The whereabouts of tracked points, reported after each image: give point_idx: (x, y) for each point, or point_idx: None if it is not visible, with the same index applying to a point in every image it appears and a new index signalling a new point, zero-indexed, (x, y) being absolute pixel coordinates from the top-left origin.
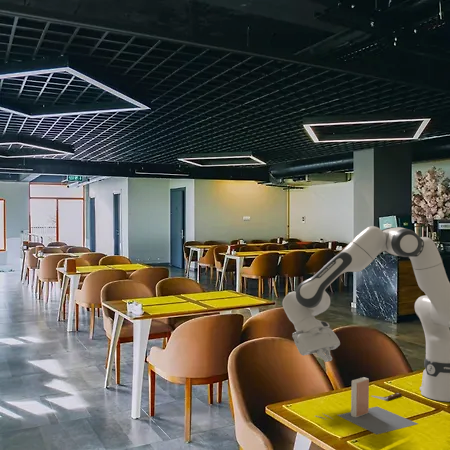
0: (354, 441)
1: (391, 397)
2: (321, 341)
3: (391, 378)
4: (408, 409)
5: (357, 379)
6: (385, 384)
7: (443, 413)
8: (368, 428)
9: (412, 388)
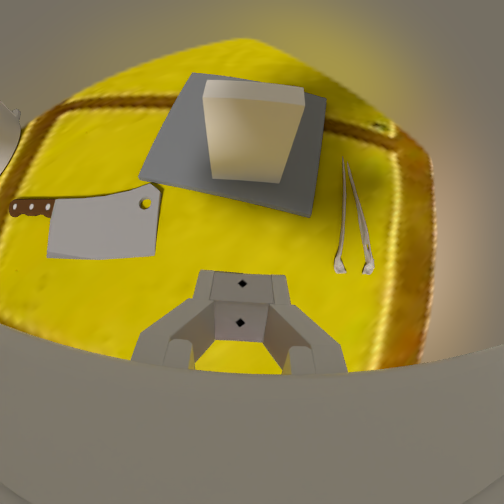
0: (381, 125)
1: (43, 199)
2: (227, 489)
3: None
4: (95, 134)
5: (263, 97)
6: None
7: (83, 91)
8: (316, 118)
9: None
